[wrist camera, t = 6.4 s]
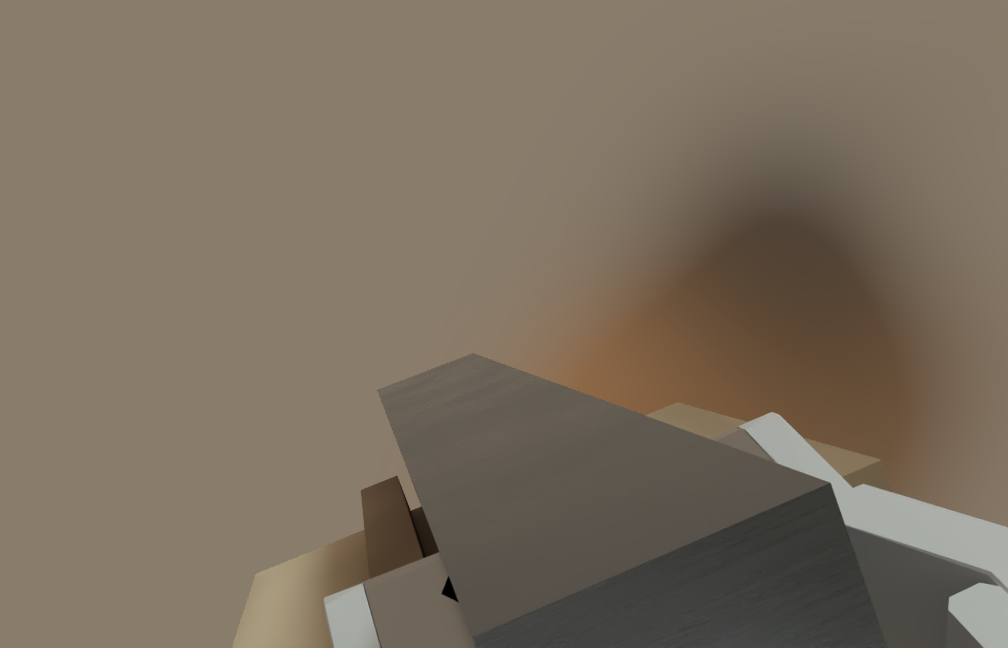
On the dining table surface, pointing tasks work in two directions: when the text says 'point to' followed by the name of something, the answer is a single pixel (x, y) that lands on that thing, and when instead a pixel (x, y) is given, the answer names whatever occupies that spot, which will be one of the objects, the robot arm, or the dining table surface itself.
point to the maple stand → (426, 546)
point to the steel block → (618, 523)
